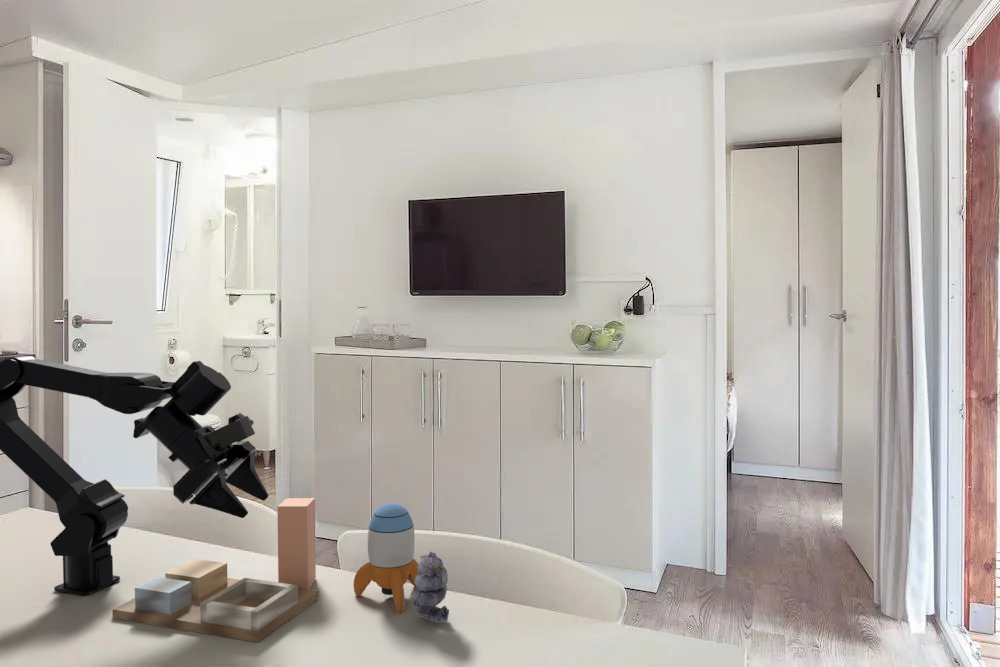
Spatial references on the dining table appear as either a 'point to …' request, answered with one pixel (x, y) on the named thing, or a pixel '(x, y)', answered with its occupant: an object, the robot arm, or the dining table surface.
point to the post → (296, 542)
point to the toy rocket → (389, 553)
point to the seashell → (431, 589)
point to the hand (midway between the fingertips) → (256, 506)
